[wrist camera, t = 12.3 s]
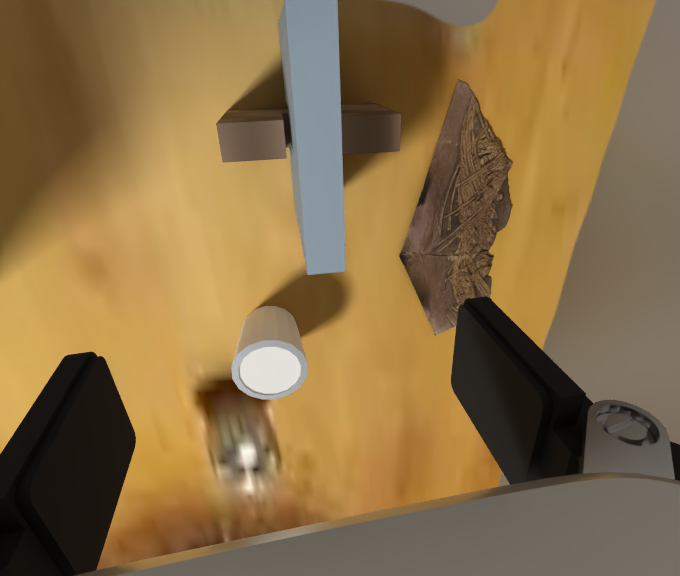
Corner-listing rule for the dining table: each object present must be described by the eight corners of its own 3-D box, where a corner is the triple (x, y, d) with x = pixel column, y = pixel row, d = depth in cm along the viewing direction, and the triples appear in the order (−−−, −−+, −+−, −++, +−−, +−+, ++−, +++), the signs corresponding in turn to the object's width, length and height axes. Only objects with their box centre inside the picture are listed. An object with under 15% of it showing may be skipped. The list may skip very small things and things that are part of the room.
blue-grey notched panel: (278, 23, 31) (285, -1, 19) (310, 22, 31) (337, -2, 19) (294, 206, 38) (307, 275, 26) (321, 203, 38) (345, 271, 26)
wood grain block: (231, 141, 34) (222, 162, 27) (227, 110, 33) (216, 123, 26) (374, 133, 36) (399, 151, 29) (374, 103, 34) (401, 113, 28)
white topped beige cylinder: (297, 294, 42) (301, 334, 36) (307, 348, 45) (313, 392, 39) (229, 306, 42) (222, 348, 36) (244, 360, 45) (241, 406, 39)
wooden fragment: (483, 328, 48) (487, 333, 47) (391, 336, 47) (393, 341, 46) (533, 81, 36) (540, 81, 35) (411, 81, 35) (415, 81, 34)
